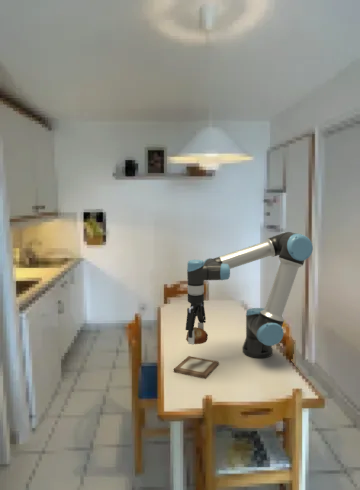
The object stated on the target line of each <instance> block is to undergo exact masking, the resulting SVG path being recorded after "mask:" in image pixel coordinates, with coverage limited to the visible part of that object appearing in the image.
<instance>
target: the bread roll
mask: <svg viewBox="0 0 360 490" xmlns="http://www.w3.org/2000/svg"><path fill="white" fill-rule="evenodd" d="M193 330H194V345H201V344H205V343H206V342H207V341H208V338H209V337H208V332H206V330H205V329H204V330H203V329H201V328H198V326H197V327H196V326H194V328H193ZM185 340H186V341H187V342H188V331H187V332H186V338H185Z"/></svg>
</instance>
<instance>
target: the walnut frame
mask: <svg viewBox="0 0 360 490" xmlns="http://www.w3.org/2000/svg"><path fill="white" fill-rule="evenodd" d="M219 363H220V362H219V360H218V361H217V360H212V359H206V358H201V357H197V356H191V355H188V356H186V358H185V359H183V360H182V361H181V362H180V363H179V364H178V365H177V366H175V367H174V368H173V373H177V374H181V375H186V376H191V377H195V378H196V377H197V378H200V379H203V380H204V379H205V380H206V379H207V378H208V377H209V376H210V375H211V374H212V373H213V372H214V371H215V370H216V368H217V367H218V366H219V365H220V364H219Z"/></svg>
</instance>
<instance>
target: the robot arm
mask: <svg viewBox="0 0 360 490" xmlns="http://www.w3.org/2000/svg"><path fill="white" fill-rule="evenodd" d="M313 250H314V248H313V243H312V241H311V239H310V238H309V237H308V236H306V235H304V234H301V233H296V232H291V231H287V232H286V231H285V232H282V233H279V234H276V235H273V236H270V237H268V238H266V239H265V241H262V242H260V243H257V244H253V245H251V246H248V247H244V248H241V249H238V250H235V251H232V252H229V253H225V254H223V255H221V256H218V257H213V258H210V257H209V258H206V259H205V260H202V259H190V260H188V262H187V268H186V269H187V271H186V272H187V273H186V274H187V280H186V281H187V285H186V288H187V302H188V304H190V306H189V307H187V309H186V312H187V313H186V323H185V331H187V332H188V341H187V344H189V345H195V344H194V330H193V328H194V327H195V323H196V322H195V321H196V318H197V321H198V322H197V328H201V329H203V330H204V331H205V329H204V328H205V326H204V325H205V324H206V322H207V321H206V319H207V317H206V311H205V295H204V293H205V284H204V283H205V281H207V282H208V281H223V280H224V281H225V280H229V279H230V278H231V269H234V268H237V267H240V266H244V265H247V264H249V263H252V262H256V261H258V260H262V259H264V258H267V257H271V258H273V257H276V256H278V260H279V261H280V262H279V265H278V268H277V272H276V274H275V276H274V281H273V283H272V287H271V289H270V293H269V295H268V297H267V302H266V303H265V307H254V308H253V307H251V308H248V309H247V310H246V313H245V318H246V319H245V326H246V327H245V328H246V329H245V340H244V343H243V345H242V353H243V354H244V355H245V356H246V357H250V358H254V359H255V358H256V359H265V358H269V357H271V356H272V355H273V347H272V346H275V345H278V344H279V343H280V342H281V341H282V340H283V338H284V330H283V324H284V322H285V319H284V316H283V314H284V312H285V308H286V305H287V302H288V301H289V297H290V294H291V290H292V288H293V286H294V285H293V284H294V282H295V280H296V277H297V274H298V270H299V268H301V267H303V266H304V264H305V261H306V260H307V259H309V258H310V257H311V255H312V253H313Z"/></svg>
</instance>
